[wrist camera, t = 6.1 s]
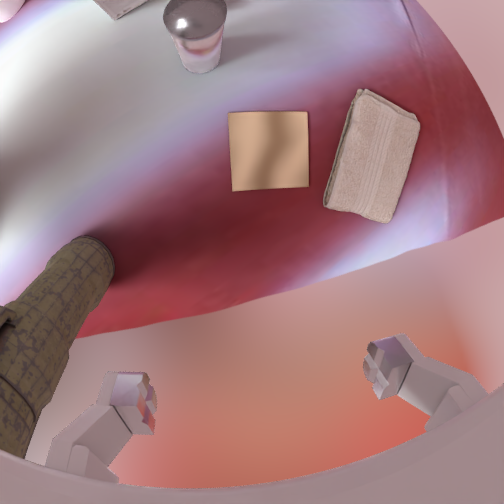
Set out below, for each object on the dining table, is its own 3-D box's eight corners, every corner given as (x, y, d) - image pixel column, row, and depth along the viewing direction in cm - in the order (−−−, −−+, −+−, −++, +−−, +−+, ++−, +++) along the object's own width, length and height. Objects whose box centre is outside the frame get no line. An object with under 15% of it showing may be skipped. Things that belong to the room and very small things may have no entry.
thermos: (108, 222, 35) (-60, 451, 3) (122, 297, 39) (49, 527, 7) (57, 226, 34) (-108, 402, 2) (74, 297, 38) (-21, 489, 6)
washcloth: (413, 117, 35) (426, 118, 32) (384, 223, 41) (394, 229, 38) (350, 85, 32) (361, 82, 29) (318, 204, 38) (327, 210, 36)
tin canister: (181, 76, 29) (162, 41, 16) (180, 42, 27) (164, -6, 14) (221, 72, 29) (227, 34, 17) (220, 38, 27) (226, -12, 15)
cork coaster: (232, 190, 36) (232, 191, 35) (227, 113, 32) (228, 112, 31) (307, 186, 37) (308, 186, 36) (306, 112, 33) (307, 112, 32)
